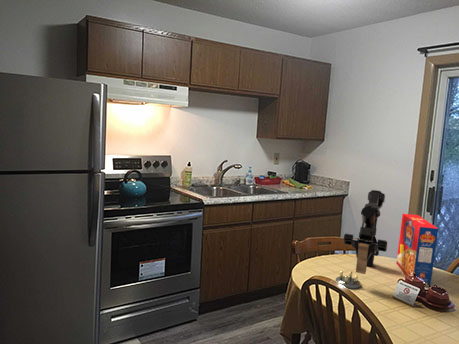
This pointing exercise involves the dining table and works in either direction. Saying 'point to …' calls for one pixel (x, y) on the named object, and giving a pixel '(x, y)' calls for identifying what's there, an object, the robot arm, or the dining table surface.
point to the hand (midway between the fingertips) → (362, 258)
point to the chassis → (348, 281)
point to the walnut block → (362, 258)
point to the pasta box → (417, 247)
